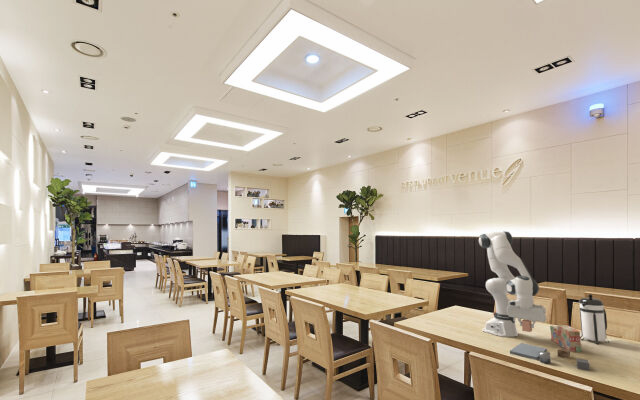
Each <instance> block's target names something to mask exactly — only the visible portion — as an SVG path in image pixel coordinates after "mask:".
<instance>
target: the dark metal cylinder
mask: <svg viewBox="0 0 640 400" xmlns="http://www.w3.org/2000/svg"><path fill="white" fill-rule="evenodd" d="M539 357H540V358H539V362H540V363H541V364H544V365H546V364H547V365H550V364H552V363H551V362H552V361H551V353H550V352H549V351H547V352H544V351H540V352H539Z"/></svg>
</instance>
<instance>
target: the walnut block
mask: <svg viewBox="0 0 640 400" xmlns="http://www.w3.org/2000/svg"><path fill="white" fill-rule="evenodd" d="M556 350H557V357H558V358H562V359H567V360H569V358H570V357H571V352H570V350H569V349H565V348H564V347H558V348H557V349H556Z"/></svg>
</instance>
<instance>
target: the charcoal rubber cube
mask: <svg viewBox="0 0 640 400" xmlns="http://www.w3.org/2000/svg"><path fill="white" fill-rule="evenodd" d="M575 359H576V367H577V369H578V370H582V371H587V372H590V371H591V368H590V367H591V366H590V361H589V359H585V358H584V359H583V358H577V357H576V358H575Z"/></svg>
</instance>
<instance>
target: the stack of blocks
mask: <svg viewBox="0 0 640 400" xmlns="http://www.w3.org/2000/svg"><path fill="white" fill-rule="evenodd" d="M549 328H550V329H549V330H550V335H551V339H550V340H551V341H553V342H554V343H556V344H557V345H559V346H560V347H561V348H564V349H569V350H570V353H571V352H575V353H576V352H577V353H582V347H581V341H582V340H581V339H580V337H581V331H580V330H578V329H576V328H574V327H572V326H570V325H565V324H564V325H563V324H562V325H561V324H560V325H559V324H557V325H550V326H549Z"/></svg>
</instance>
